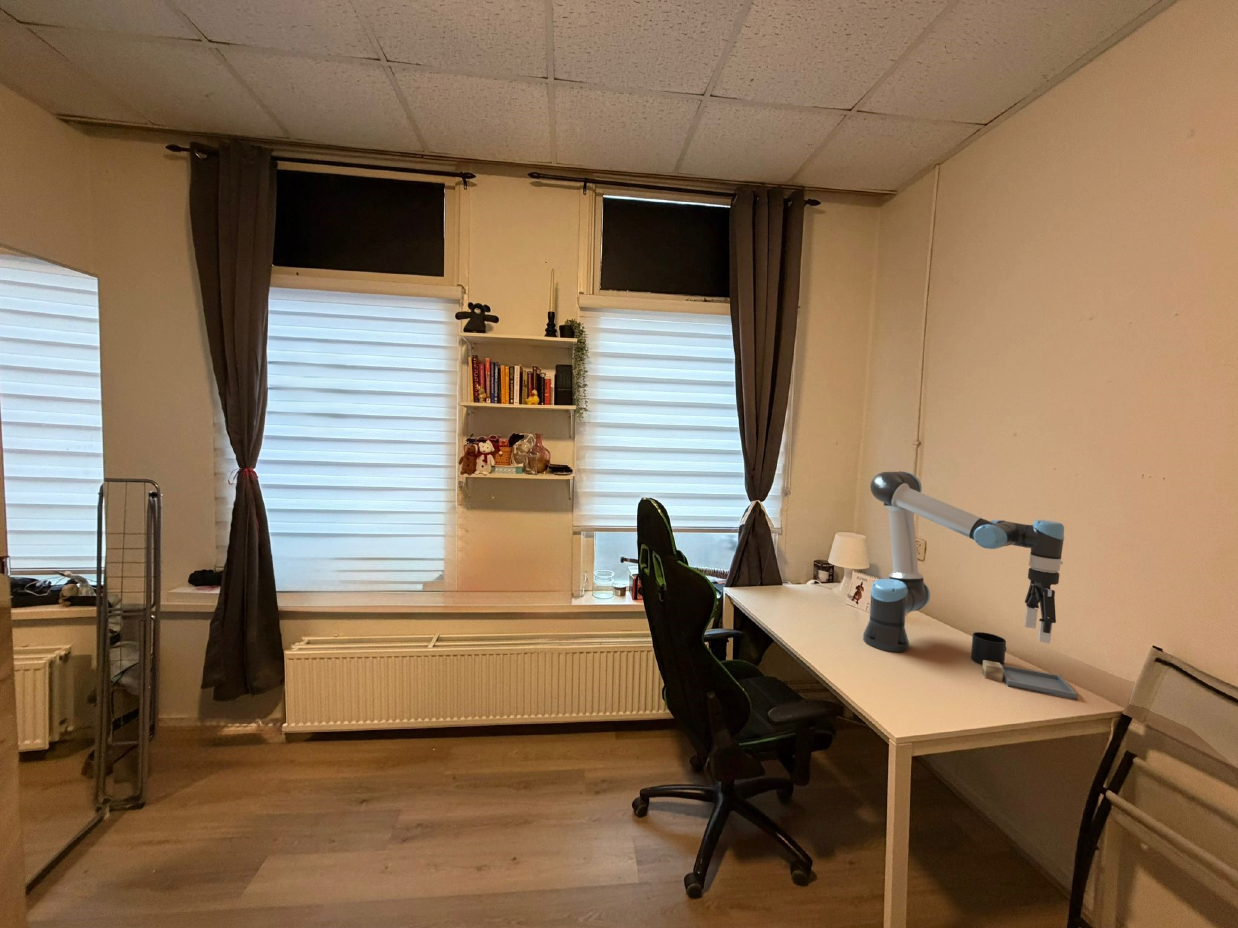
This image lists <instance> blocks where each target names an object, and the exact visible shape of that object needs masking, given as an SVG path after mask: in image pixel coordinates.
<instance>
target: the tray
mask: <svg viewBox="0 0 1238 928" xmlns="http://www.w3.org/2000/svg"><path fill="white" fill-rule="evenodd" d="M1001 666H1002V667H1003V678H1002V681H1004V683H1005V684H1006V686H1007V687H1009V688H1014V689H1018V690H1024V691H1029V692H1034V693H1039V694H1045V695H1050V696H1055V697H1060V698H1065V699H1069V700H1074V701H1078V695H1079V694H1078V693H1077V692H1076V691H1075V690H1074V688H1073V687H1072V686H1070V684H1069V683H1068V682H1067V681H1066V679H1064V677H1062V675H1061V674H1055V673H1048V672H1046V671H1045V672H1043V671H1039V670H1033V669H1027V668H1023V667H1019V666H1018V667H1017V666H1012V665H1006V664H1004V665H1002V664H1001Z"/></svg>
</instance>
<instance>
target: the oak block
mask: <svg viewBox="0 0 1238 928" xmlns="http://www.w3.org/2000/svg"><path fill="white" fill-rule="evenodd" d="M981 674H982V675H983V677H984V679H986V680H987V679H988V680H991V681H998V682H1002V683H1003V667H1002V666H1001V664H1000V663H998V662H992V661H987V660H983V665H982V670H981Z"/></svg>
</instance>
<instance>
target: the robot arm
mask: <svg viewBox="0 0 1238 928" xmlns="http://www.w3.org/2000/svg"><path fill="white" fill-rule="evenodd" d="M869 488H870V492H871V495H872V496H873V497H874V498H875V499H876V500H878V501H880V502H882V503H883V507H884V508H886V509H887V510H888V520H889V521H888V522H889V535H890V548H891V559H892V560H891V562H892V571H891V573H890V574H888V578H881V579H876V580H875V581H874V582H873V583H872V585H871V590H870V607H869V621H868V622H867V625H866V627H865V629H864V632H863V636H862V639H863V640H862V641H863V642H864V643H865V642H866V643H865V644H867V645H869V646H870V647H873V648H875V649H879V650H882V651H886V652H894V653H903V652H907V651H908V650H909V649H910V647H909V646H910V642H909V639H908V634H907V630H906V627H905V625H906V624H905V623H906V614H908V613H911V612H916V611H920V610H921V609H923V608H925V607H926V606H927V605H928V604H929V601H930V598H931V592H930V588H929V586H928V585H926V583H925V581H924V575H923V574H921V573H920V572H919V567H918V566H919V565H918V562H919V561H918V551H917V540H916V537H917V536H916V527H915V525H916V524H915V514H916V515H918V516H920V517H922V518H924V519H927V520H929V521H931V522H934V523H936V524H938V525H940V526H942V527H944V528H946V529H948V530H951V531H952V532H953V531H954V532H956V533H958V534H960V535H963V537H967V538H969V539H971V540H973V541H975V543H976V544H977V545H978V546H979V547H981V548H983V549H988V550H996V549H1000V548H1003V547H1008V546H1014V547H1021V548H1026V549H1030V554H1029V560H1028V562H1029V563H1028V566H1029V568H1028V571H1027V579H1028V580H1029V581H1030V583H1029V587H1028V590H1027V593H1026V596H1025V600H1024V603H1025V604H1026V612H1025V622H1024V627H1025V628H1030V629H1036V627H1037V619H1038V612H1039V611H1038V609H1040V615H1041V618H1039V620H1038V621H1039V622H1040V623H1039V632H1038V640H1037V641H1038V642H1040V643H1045V644H1051V639H1052V638H1051V637H1052V631H1053V624H1056V622H1057V619H1056V618H1057V617H1056V615H1057V614H1056V602H1055V597H1056V596H1055V595H1056V591H1055V590H1054V589H1051V588H1052V587H1051V586H1052V585H1054V586H1056V585H1059V583H1060V581H1059V580H1060V575H1061V574H1060V572H1059V571H1061V565H1063V561H1062V554H1063V547H1064V540H1065V526H1064V524H1063V523H1061V522H1057V521H1052V520H1051V521H1050V520H1045V519H1044V520H1043V519H1042V520H1041V519H1037V520H1035V521H1033V524H1025V523H1018V522H1013V521H1006V520H1002V519H1001V520H998V519H993V520H987V519H984V518H982V517H980V516H979V515H978V516H977V515H975V514H973V513H971V512H968V511H965V510H963V509H961V508H958V507H956V506H954V505H952V504H949V503H947V502H944V501H942V500H939V499H937V498H935V497H932V496H930V495H927V494H924V493H923V492H922V489H923V487H922V483H921V480H920V479H919V478H918V477H917V476H916V475H915V474H913V473H911V472H907V471H900V470H899V471H883V472H880V473H878V474H876V475H875V476H874V477H873V478H872V479H871V481H870V487H869Z"/></svg>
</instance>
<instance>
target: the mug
mask: <svg viewBox="0 0 1238 928" xmlns="http://www.w3.org/2000/svg"><path fill="white" fill-rule="evenodd" d="M971 640H972V641H971V649H970V650H971V654H970V659H971V660H972V661H973V662H974V663H976V664H978V665H981V666H983V660H987V661H992V662H998V663H1000V664H1002V665H1005V660H1006V659H1005V658H1006V657H1005V656H1006V652H1007V641H1006V639H1005V638H1003V637H1001V636H999V635H996V634H993V633H988V632H981V631H978V632H977V631H976V632H973V633H972V639H971Z"/></svg>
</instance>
